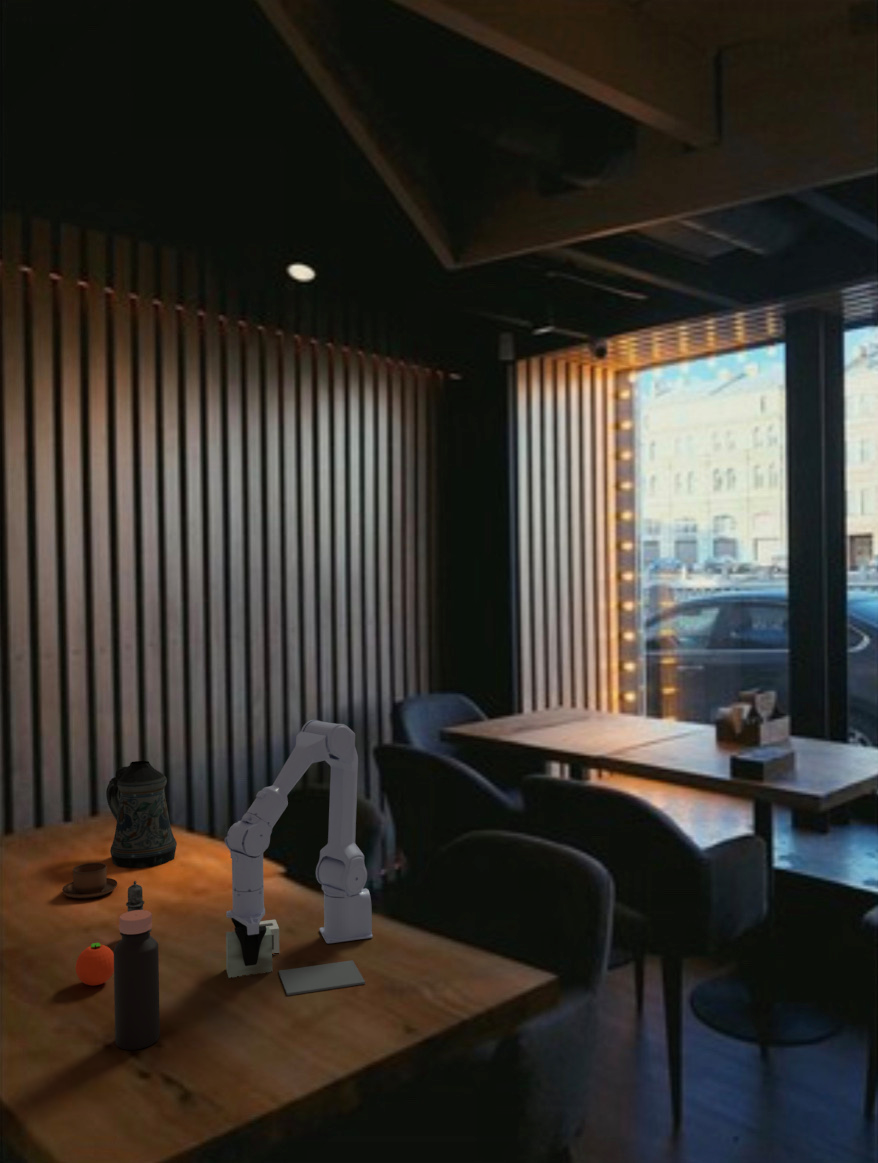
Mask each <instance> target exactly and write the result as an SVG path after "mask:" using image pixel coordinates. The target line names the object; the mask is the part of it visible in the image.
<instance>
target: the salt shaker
mask: <svg viewBox="0 0 878 1163" xmlns="http://www.w3.org/2000/svg"><path fill="white" fill-rule="evenodd" d="M137 883H138V882H137V881H136V880H133V882H132V884H131V885H130V886H129V887H128V888H127V902H126V903H125V906H126V907H127V912H129V911H134V910H144V904H145V900H143V887H142V885H140V884H137Z"/></svg>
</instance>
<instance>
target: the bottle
mask: <svg viewBox="0 0 878 1163" xmlns="http://www.w3.org/2000/svg"><path fill="white" fill-rule="evenodd" d="M118 917H119V919H118V920H119V922H118V925H119V934H120V937H121V939H120V941H119V942H118V943H117V944H116V945H115V947H114V949H113V953H114V973H113V989H114V991H113V992H114V994H113V995H114V1043H115V1044H116V1046H117V1047H119V1048H120V1049H123V1050H126V1051H135V1050H141V1049H145V1048H148V1047H150V1046H152V1045H154V1044H155V1043H157V1041H158V1040H159V1038H160V1032H161V1030H160V1026H161V1025H160V1021H161V1020H160V1016H161V1015H160V967H159V966H160V965H159V964H160V962H159V960H160V959H159V955H160V954H159V943H158V941H157V940H156V939H155V938H154V937H153V936H152V935H151V932H152V927H153V913H152V912H151V911H149V910H146V909H145V910H144V909H143V910H134V911H129V912H128V911H126V912H124V913H122V914H121V915H120V916H118Z"/></svg>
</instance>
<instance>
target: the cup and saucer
mask: <svg viewBox="0 0 878 1163" xmlns="http://www.w3.org/2000/svg"><path fill="white" fill-rule="evenodd" d="M72 879H73V880H72V882H68V883H67V884H65V885H64V886H63V887H62V890H61V891H62V893H63V894H64V895H65V896H66V897H69V898H73V899H94V898H98V897H101V896H102V897H103V896H105V895H107V894H109V893H111V892H112V891H114V890H115V889H116V888H117V886H118V881H117V880H116V879H113V878H111V877H107V864H105V863H104V862H103V863H102V862H89V863H83V864H79V865H77V866H75V867H73V868H72Z"/></svg>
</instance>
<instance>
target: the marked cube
mask: <svg viewBox="0 0 878 1163" xmlns="http://www.w3.org/2000/svg"><path fill="white" fill-rule="evenodd" d="M260 926H266V927H269V929H270V931H271V934H272V953H279V954H280V927H279V925H278V923H277V920H276V919H269V920H261V921H260V923H259V927H260Z"/></svg>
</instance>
